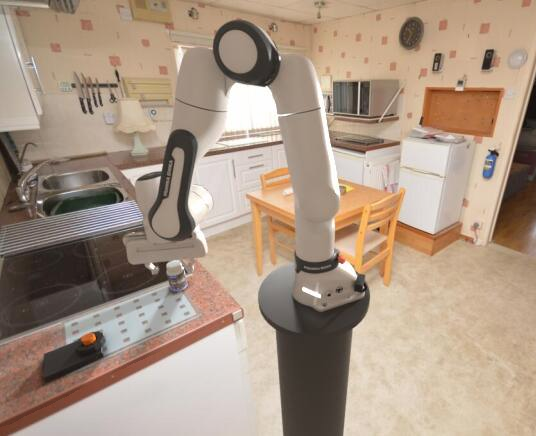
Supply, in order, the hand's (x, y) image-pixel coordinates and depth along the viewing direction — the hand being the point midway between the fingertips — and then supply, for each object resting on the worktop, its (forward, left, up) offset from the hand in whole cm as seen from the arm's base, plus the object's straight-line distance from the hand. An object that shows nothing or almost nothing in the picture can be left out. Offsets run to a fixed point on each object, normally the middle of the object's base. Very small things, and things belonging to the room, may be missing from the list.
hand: (173, 271), depth 86 cm
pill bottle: (0, 0, -6) cm, 6 cm away
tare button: (+15, +20, -3) cm, 25 cm away
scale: (+18, +21, -6) cm, 28 cm away
